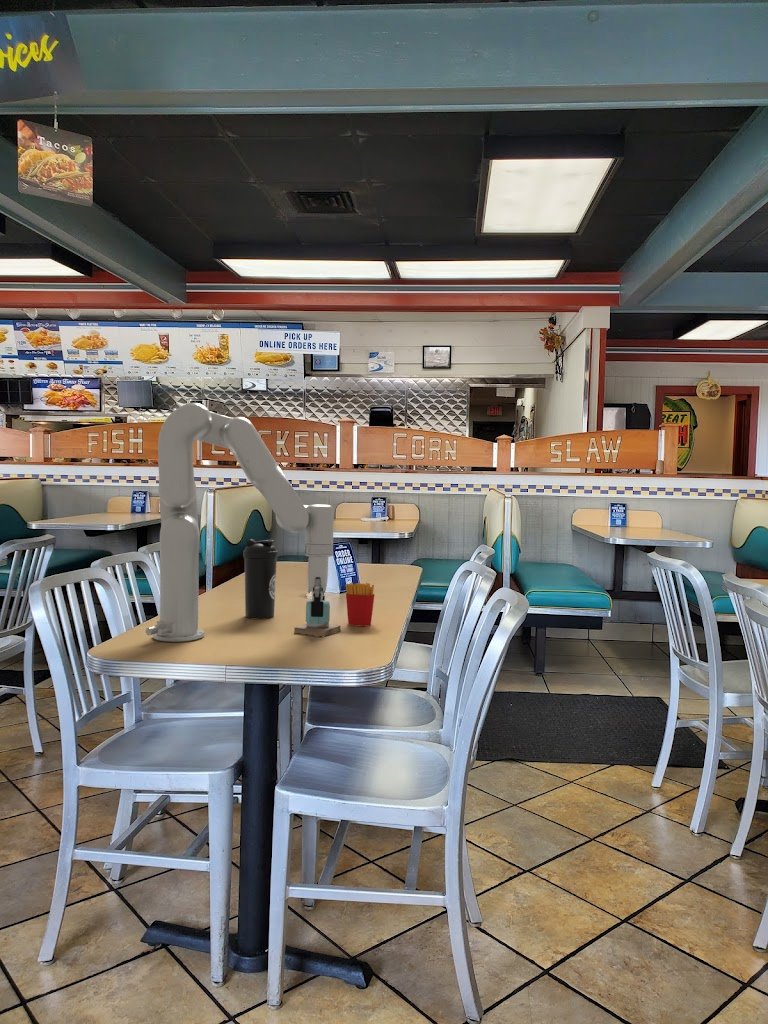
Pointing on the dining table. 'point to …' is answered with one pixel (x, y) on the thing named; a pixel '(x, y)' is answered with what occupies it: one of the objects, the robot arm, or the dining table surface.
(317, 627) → the post stand
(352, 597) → the french fries
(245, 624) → the dining table surface
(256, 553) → the water bottle
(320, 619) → the cap
